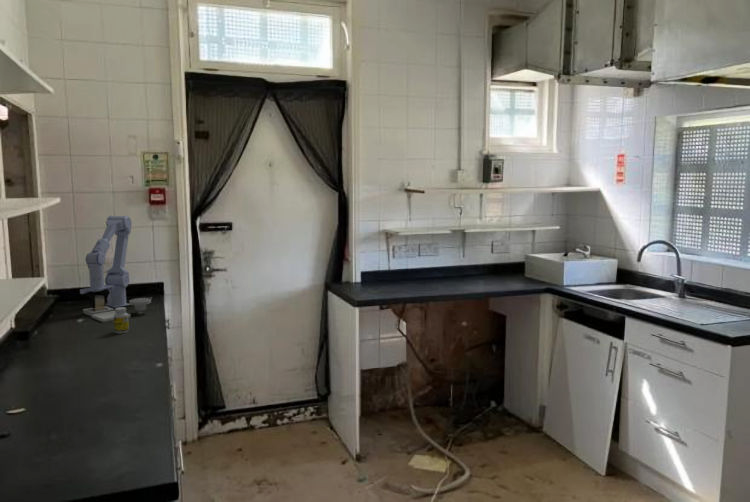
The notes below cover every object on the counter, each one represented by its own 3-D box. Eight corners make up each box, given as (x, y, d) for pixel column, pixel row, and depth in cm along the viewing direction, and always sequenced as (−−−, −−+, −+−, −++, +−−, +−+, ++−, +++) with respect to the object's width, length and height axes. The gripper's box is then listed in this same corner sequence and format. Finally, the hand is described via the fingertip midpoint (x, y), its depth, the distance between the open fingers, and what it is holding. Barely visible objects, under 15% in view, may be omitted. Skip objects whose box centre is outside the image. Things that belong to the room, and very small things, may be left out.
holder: (83, 313, 262) (83, 309, 262) (105, 309, 269) (105, 305, 269) (92, 316, 255) (91, 312, 255) (114, 312, 263) (114, 309, 262)
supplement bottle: (111, 332, 229) (110, 309, 228) (122, 329, 234) (120, 306, 233) (121, 334, 227) (120, 310, 226) (132, 330, 232) (130, 307, 231)
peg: (92, 313, 262) (91, 296, 261) (101, 311, 265) (100, 294, 264) (96, 314, 260) (95, 297, 259) (105, 313, 262) (104, 296, 261)
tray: (92, 318, 253) (91, 314, 253) (118, 313, 262) (118, 310, 262) (103, 322, 245) (103, 319, 245) (130, 317, 254) (130, 314, 254)
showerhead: (153, 299, 259) (129, 301, 254) (153, 314, 260) (130, 316, 255) (151, 295, 267) (128, 297, 263) (152, 310, 268) (129, 312, 264)
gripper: (83, 281, 252) (85, 310, 254) (116, 277, 263) (117, 305, 265) (77, 279, 257) (79, 308, 259) (109, 275, 268) (111, 303, 269)
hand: (98, 306), depth 262 cm, fingers closed on peg, 4 cm apart
